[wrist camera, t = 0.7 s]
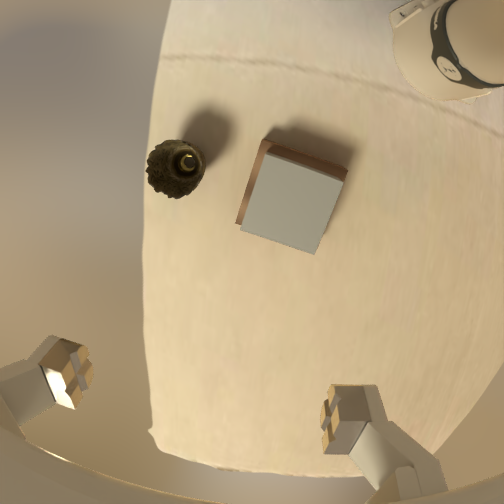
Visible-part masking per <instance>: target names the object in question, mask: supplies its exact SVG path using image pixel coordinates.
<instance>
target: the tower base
mask: <svg viewBox="0 0 504 504" xmlns="http://www.w3.org/2000/svg"><path fill="white" fill-rule="evenodd" d="M266 152H269V153H272V154H275V155H278V156H281V157H284V158H287V159H290V160H293V161H295V162H298V163H301V164H304V165H307V166H309V167H312V168H315V169H317V170H320V171H323V172H325V173H328V174H330V175H333V176H336V177H338V178H339V179H340V180H341V181H343V182H344V180H345V177H346V174H347V172H348V170H347V169H345V168H343V167H341V166H339V165H336V164H333V163H331V162H328V161H326V160H323V159H320V158H317V157H315V156H312V155H309V154H306V153H304V152H301V151H298V150H295V149H292V148H289V147H286V146H283V145H280V144H277V143H274V142H271V141H268V140H265V139H262V141H261V144H260V147H259V150H258V153H257V156H256V159H255V162H254V165H253V169H252V172H251V175H250V178H249V181H248V184H247V187H246V190H245V194H244V197H243V200H242V203H241V206H240V210H239V213H238V216H237V219H236V222H235V223H236V224H239V225H242V222H243V219H244V216H245V213H246V210H247V207H248V204H249V201H250V198H251V195H252V192H253V189H254V186H255V183H256V180H257V177H258V174H259V171H260V168H261V165H262V162H263V159H264V156H265V153H266ZM329 219H330V218H329ZM327 224H328V223H327ZM325 229H326V228H325ZM322 236H323V235H322ZM320 241H321V240H320ZM319 243H320V242H319ZM318 246H319V245H318ZM317 248H318V247H317Z"/></svg>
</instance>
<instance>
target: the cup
mask: <svg viewBox="0 0 504 504" xmlns="http://www.w3.org/2000/svg"><path fill="white" fill-rule="evenodd" d="M187 157H192V158H193V159H194V160H195V164H194V166H193V167H191V168H188V167H186V166H185V164H184V161H185V159H186V158H187ZM147 163H148V165H149V166H148V168H147V169H146V172H147V173H148V183H149V184H150V185H151V186H152V187H153V188H154V190H155V191H156V192H157V193H159V192H162V193H164V194H166V195H168V198H172V197H173V198H175V199H179V198H181V197H183V196H185V195H189V194H190V193H191V192H192V191H193V190H194V189H195V188H196V187H197V186H198V184H199V183H200V181H201V179H202V177H203V175H204V172H205V167H206V164H205V158H204V156H203V154H202V152H201V151H200V149H199V148H197V147H196V146H195V145H193V144H191V143H188V142H185V141H181V140H166V141H164V142H163V143H162V144H160V145H157V146H155V150H153V151H152V152H151V153H150V154H149V158H148V159H147Z"/></svg>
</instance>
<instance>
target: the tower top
mask: <svg viewBox="0 0 504 504" xmlns="http://www.w3.org/2000/svg"><path fill="white" fill-rule="evenodd" d="M343 183H344V182H343V181H341V180H340V179H339V178H338V177H336V176H333V175H330V174H328V173H325V172H323V171H320V170H317V169H315V168H312V167H309V166H307V165H304V164H301V163H298V162H295V161H293V160H290V159H287V158H284V157H281V156H278V155H275V154H272V153H269V152H266V153H265V156H264V159H263V162H262V165H261V168H260V171H259V174H258V177H257V180H256V183H255V186H254V189H253V192H252V195H251V198H250V201H249V204H248V207H247V210H246V213H245V216H244V219H243V222H242V225H241V228H240V230H242V231H245V232H248V233H251V234H254V235H257V236H260V237H263V238H266V239H269V240H272V241H275V242H278V243H281V244H284V245H287V246H289V247H292V248H295V249H298V250H301V251H304V252H307V253H310V254H313V255H314V254H315V252H316V250H317V247H318V245H319V242H320V240H321V238H322V235H323V233H324V231H325V228H326V226H327V223H328V221H329V218H330V216H331V213H332V211H333V209H334V206H335V204H336V201H337V199H338V196H339V193H340V191H341V188H342V186H343Z"/></svg>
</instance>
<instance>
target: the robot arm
mask: <svg viewBox="0 0 504 504" xmlns="http://www.w3.org/2000/svg"><path fill="white" fill-rule="evenodd" d="M400 13H402V14H403V15H404V17H402V16H401V15H400ZM389 21H390V24H391V27H392V29H393V52H394V57H395V60H396V63H397V65H398V67H399V69H400V71H401V73H402V75H403V76H404V77H405V79H406V80H407V81H408V82H409V84H410V85H411V86H412V87H413V88H415V89H416V90H417V91H418V92H420V93H421V94H423V95H425V96H427V97H429V98H431V99H434V100H439V101H449V100H457V101H459V102H462V103H465V104H473V103H474V102H475V101H476V99H477V97H479V96H484V95H488V94H490V93H491V92H492V91H491V90H492V89H496V88H499V87H502V86H504V0H413V1H411V2H409V3H407V4H405V5H403V6H401V7H399V8H398V9H396V10H394V11H392V12H390V13H389ZM88 356H89V352H88V348H87V347H86V346H84V345H82V344H79V343H76V342H72V341H69V340H66V339H63V338H59V337H57V336H54V335H50V336H48V337H47V338H46V339H45V341H43V343H42V344H41V345H40V346H39V347H38V348H37V349H36V350H35V351H34V352H33V354H32V355H31V356H30V357H29V358H28V359H27V360H24V359H23V360H20V361H18V362H15V363H12V364H10V365H7V366H5V367H2V368H0V504H226V503H218V502H212V501H205V500H200V499H194V498H189V497H184V496H179V495H175V494H170V493H166V492H162V491H158V490H154V489H150V488H146V487H143V486H139V485H136V484H132V483H129V482H126V481H122V480H119V479H116V478H113V477H110V476H107V475H104V474H102V473H99V472H96V471H93V470H91V469H88V468H85V467H83V466H80V465H78V464H76V463H73V462H71V461H68V460H66V459H64V458H61V457H59V456H57V455H55V454H53V453H51V452H48V451H46V450H44V449H42V448H40V447H38V446H36V445H34V444H32V443H30V442H28V441H26V437H25V434H24V433H23V431H22V430H21V428H20V426H21V425H23V424H24V423H26V422H27V421H29V420H31V419H32V418H34V417H36V416H37V415H39V414H41V413H42V412H44V411H45V410H47V409H49V408H50V407H52V406H53V405H55V404H56V403H58V404H61V405H63V406H66V407H69V408H72V409H76V407H77V406H78V404H79V403H80V401H81V399H82V398H83V395H82V391H84V390H86V389H88V388H89V386H90V385H91V383H92V379H93V375H94V374H93V366H92V363H91V362H90V361H89V360H88V359H87V357H88ZM327 393H328V399H327V400H325V401H324V403H323V406H322V409H321V415H320V423H321V428H322V429H323V430H324V431H325V432H324V435H323V437H322V444H323V454H344V455H346V454H349V455H348V456H349V457H350V459H351V460H352V461H353V462H354V464H355V465H356V466H357V467H358V469H359V470H360V471H361V472H362V474H363V475H364V476H365V477H366V479H367V480H368V481H369V482H370V483H371V485H372V486H373V487H374V488H375V490H376V492H375V494H373V496H372V497H371V498H370V499H369V500H368V501H367V502H366V503H365V504H504V473H502V474H499V475H497V476H494V477H491V478H488V479H485V480H483V481H479V482H476V483H473V484H470V485H467V486H463V487H460V488H456V489H453V490H449V491H448V488H447V484H446V481H445V478H444V475H443V472H442V469H441V466H440V463H439V460H438V459H436V458H435V457H434V456H433V455H432V454H430V453H429V452H428V451H427V450H426V449H424V448H423V447H422V446H421V445H420V444H419V443H417V442H416V441H415V440H414V439H413V438H411V437H410V436H409V435H408V434H407V433H406V432H404V431H403V430H402V429H401V428H400V427H398V426H397V425H396V424H395V423H394V422H393V421H388V419H387V416H386V413H385V409H384V406H383V403H382V400H381V397H380V393H379V390H378V387H377V386H376V385H344V384H331V386H330V387H329V389H328V392H327Z"/></svg>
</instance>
